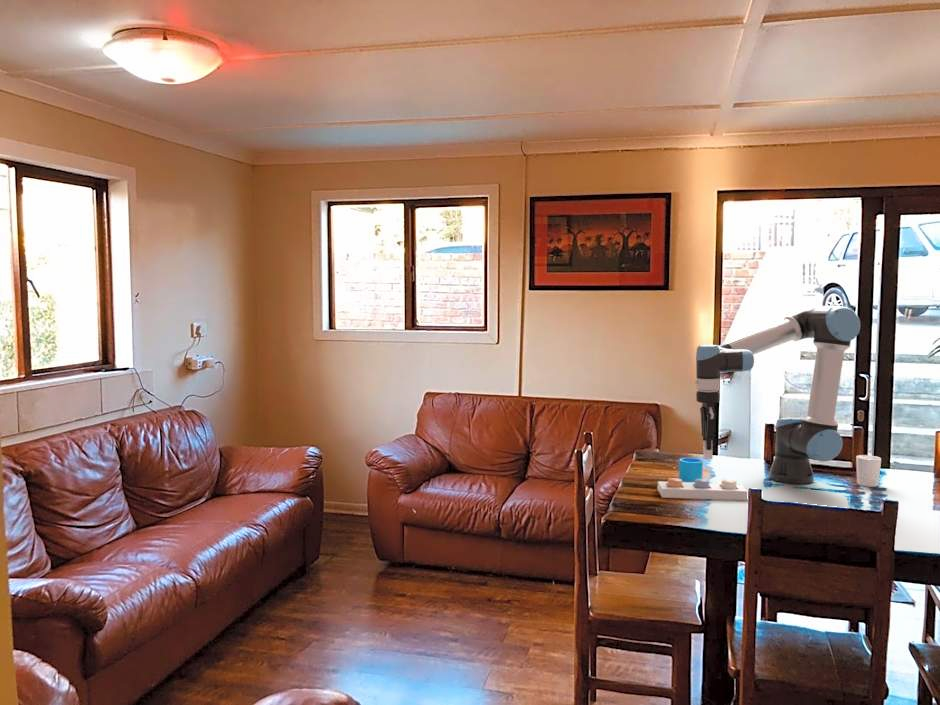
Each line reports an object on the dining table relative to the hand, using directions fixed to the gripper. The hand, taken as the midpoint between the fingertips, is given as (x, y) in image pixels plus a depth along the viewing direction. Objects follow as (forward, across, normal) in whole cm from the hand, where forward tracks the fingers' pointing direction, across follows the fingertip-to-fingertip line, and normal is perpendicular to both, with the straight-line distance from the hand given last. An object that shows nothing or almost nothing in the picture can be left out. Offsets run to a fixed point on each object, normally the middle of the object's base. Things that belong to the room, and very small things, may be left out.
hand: (707, 458), depth 252 cm
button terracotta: (+11, +2, -12) cm, 16 cm away
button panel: (+12, +2, -3) cm, 13 cm away
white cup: (+15, -18, +60) cm, 65 cm away
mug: (+13, -17, -4) cm, 21 cm away
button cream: (+11, +2, +6) cm, 13 cm away
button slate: (+11, +2, -3) cm, 12 cm away
